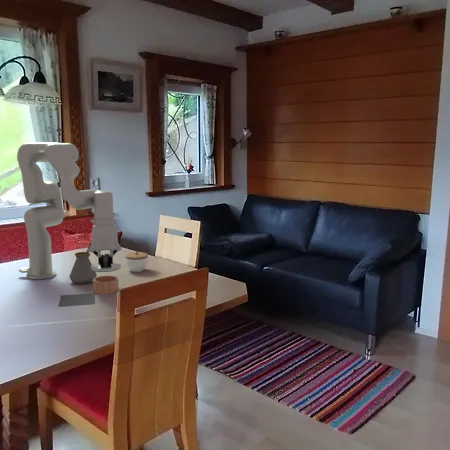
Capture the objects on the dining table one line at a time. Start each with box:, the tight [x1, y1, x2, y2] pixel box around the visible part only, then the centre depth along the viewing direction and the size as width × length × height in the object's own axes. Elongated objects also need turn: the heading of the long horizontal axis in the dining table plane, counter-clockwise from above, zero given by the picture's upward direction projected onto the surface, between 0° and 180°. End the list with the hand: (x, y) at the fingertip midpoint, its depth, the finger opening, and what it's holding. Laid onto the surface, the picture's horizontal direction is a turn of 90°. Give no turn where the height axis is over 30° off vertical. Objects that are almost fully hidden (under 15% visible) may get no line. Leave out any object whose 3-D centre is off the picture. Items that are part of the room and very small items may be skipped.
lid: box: [91, 253, 122, 273], centre depth 186 cm, size 12×12×6 cm
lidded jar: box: [124, 250, 149, 273], centre depth 218 cm, size 11×11×9 cm
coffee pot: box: [69, 241, 98, 285], centre depth 202 cm, size 21×12×15 cm, turn 0°
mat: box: [58, 292, 96, 308], centre depth 175 cm, size 13×13×1 cm
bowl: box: [92, 274, 120, 295], centre depth 187 cm, size 10×10×5 cm
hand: (105, 265), depth 186 cm, fingers closed on lid, 3 cm apart
